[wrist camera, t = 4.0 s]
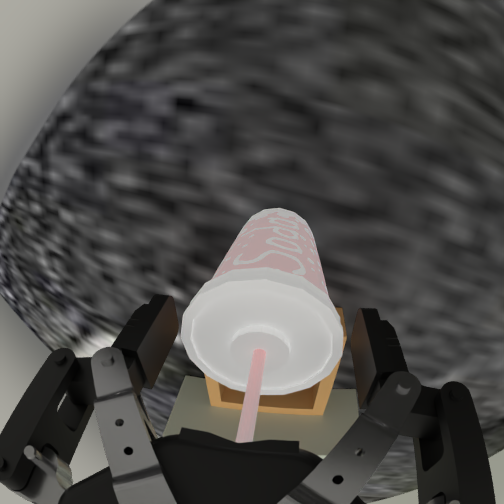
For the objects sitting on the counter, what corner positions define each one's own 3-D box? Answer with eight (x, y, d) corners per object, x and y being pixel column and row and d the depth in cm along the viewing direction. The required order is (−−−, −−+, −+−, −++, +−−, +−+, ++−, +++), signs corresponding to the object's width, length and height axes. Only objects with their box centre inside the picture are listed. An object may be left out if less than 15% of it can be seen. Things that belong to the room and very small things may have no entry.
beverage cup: (344, 224, 17) (408, 455, 5) (296, 297, 20) (282, 507, 8) (252, 177, 17) (138, 380, 4) (214, 260, 20) (120, 459, 7)
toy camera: (167, 294, 21) (105, 398, 13) (384, 308, 19) (417, 428, 11) (198, 420, 30) (176, 492, 21) (336, 432, 28) (336, 509, 19)
